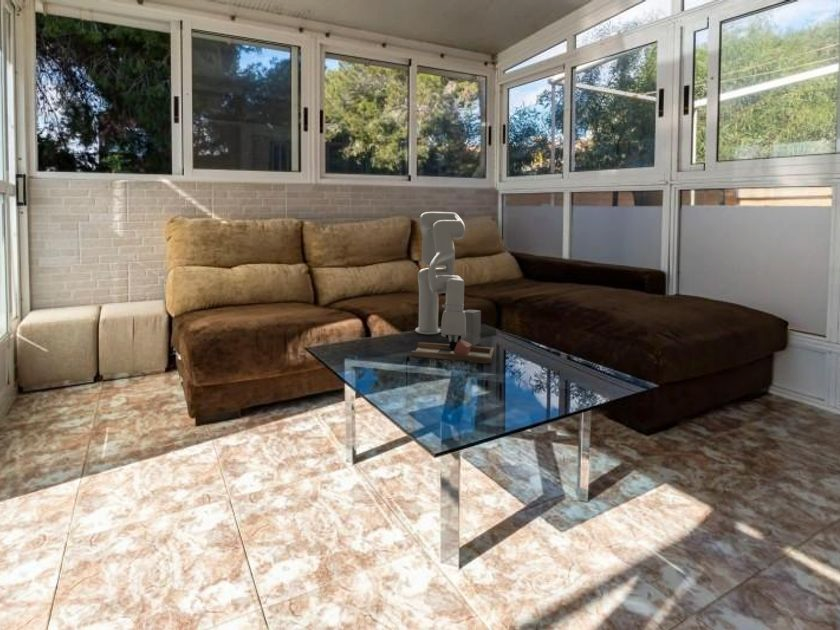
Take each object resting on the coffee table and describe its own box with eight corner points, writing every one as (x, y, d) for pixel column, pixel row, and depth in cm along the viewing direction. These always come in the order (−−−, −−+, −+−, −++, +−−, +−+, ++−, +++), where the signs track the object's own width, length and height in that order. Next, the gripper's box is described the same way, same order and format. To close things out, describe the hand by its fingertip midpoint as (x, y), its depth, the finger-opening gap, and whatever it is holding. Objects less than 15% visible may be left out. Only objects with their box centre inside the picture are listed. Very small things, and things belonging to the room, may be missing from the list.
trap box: (418, 347, 247) (418, 342, 246) (493, 353, 240) (494, 347, 240) (411, 357, 232) (411, 351, 232) (490, 363, 226) (491, 357, 225)
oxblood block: (457, 349, 237) (461, 339, 236) (468, 354, 236) (472, 344, 234) (453, 352, 233) (457, 342, 231) (463, 357, 231) (468, 347, 230)
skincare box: (472, 348, 248) (473, 313, 245) (458, 345, 252) (459, 311, 249) (481, 343, 255) (482, 310, 252) (467, 341, 259) (468, 308, 256)
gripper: (435, 308, 230) (434, 351, 234) (471, 310, 227) (469, 354, 231) (438, 305, 237) (437, 346, 241) (473, 307, 234) (471, 349, 238)
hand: (453, 350), depth 236 cm, fingers closed
